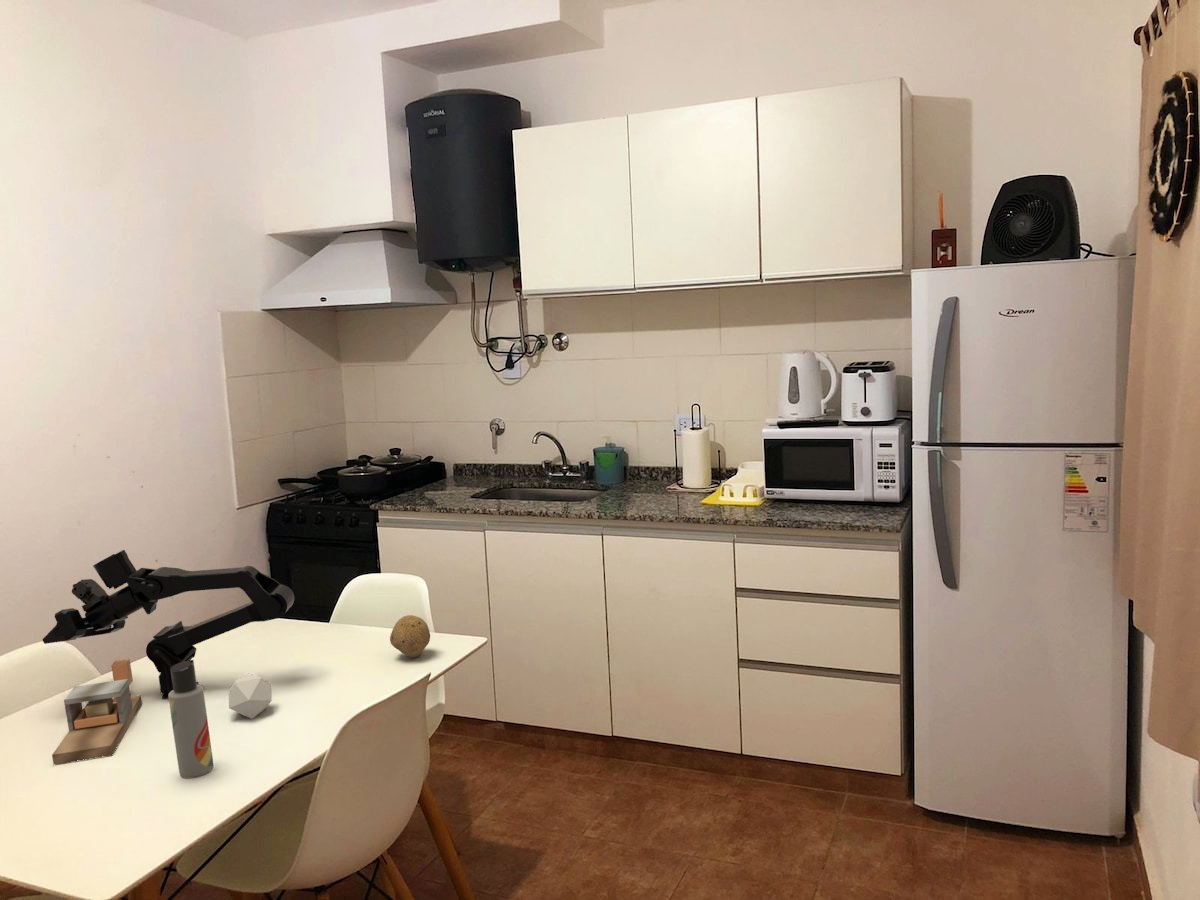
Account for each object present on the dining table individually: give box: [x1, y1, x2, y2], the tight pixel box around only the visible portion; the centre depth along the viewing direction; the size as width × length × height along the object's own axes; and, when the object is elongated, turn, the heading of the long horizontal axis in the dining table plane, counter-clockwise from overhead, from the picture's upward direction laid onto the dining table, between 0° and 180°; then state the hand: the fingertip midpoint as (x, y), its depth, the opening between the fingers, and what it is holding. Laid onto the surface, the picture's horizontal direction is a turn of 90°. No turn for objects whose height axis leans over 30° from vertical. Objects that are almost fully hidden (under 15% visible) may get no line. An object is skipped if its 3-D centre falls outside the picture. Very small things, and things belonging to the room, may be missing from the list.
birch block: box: [84, 698, 114, 718], centre depth 189 cm, size 4×4×4 cm
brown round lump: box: [389, 614, 431, 659], centre depth 217 cm, size 9×9×10 cm
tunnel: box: [51, 679, 143, 765], centre depth 187 cm, size 10×25×8 cm, turn 14°
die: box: [228, 672, 273, 720], centre depth 192 cm, size 8×9×10 cm
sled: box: [74, 658, 134, 729], centre depth 197 cm, size 8×24×5 cm, turn 14°
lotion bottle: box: [168, 661, 214, 779], centre depth 167 cm, size 6×6×20 cm
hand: (57, 639), depth 203 cm, fingers open, 9 cm apart
